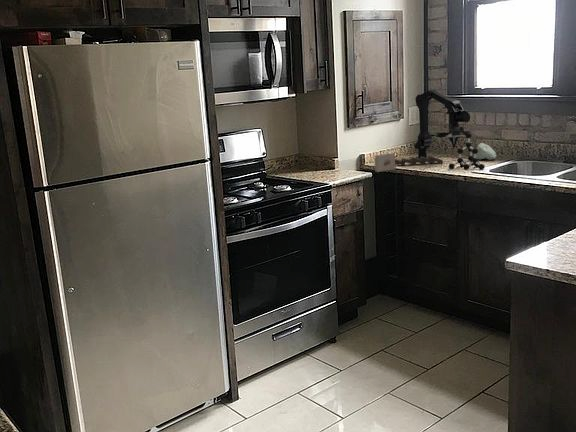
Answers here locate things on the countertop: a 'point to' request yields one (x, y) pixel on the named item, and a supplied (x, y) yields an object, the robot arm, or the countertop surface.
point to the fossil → (384, 162)
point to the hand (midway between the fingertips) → (453, 148)
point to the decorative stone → (485, 152)
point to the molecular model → (472, 159)
